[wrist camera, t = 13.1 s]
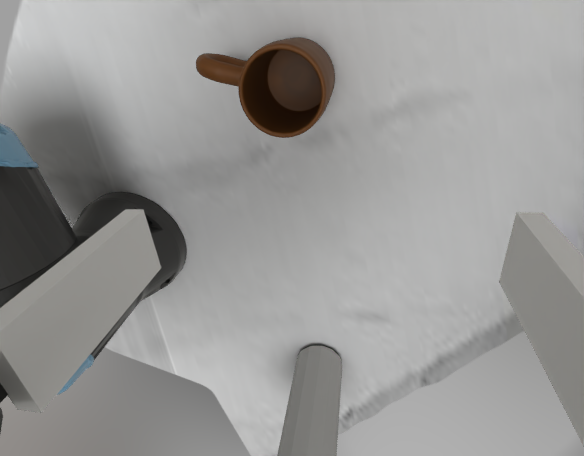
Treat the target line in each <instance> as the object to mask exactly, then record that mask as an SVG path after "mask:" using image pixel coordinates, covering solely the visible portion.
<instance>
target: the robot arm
mask: <svg viewBox="0 0 584 456" xmlns="http://www.w3.org/2000/svg"><path fill="white" fill-rule="evenodd" d="M38 168H39V167H38V164H37V163H36V162H33V160H32V159H31V157H30V155H29V154H28V152H27V151H26V149H25V148H24V146H23V145H22V143H21V142H20V140H19V139H18V137H17V135H16V134H15V133H14V132H13V131H12V130H11V129H10V128H8V127H7V126H5V125H3V124H1V123H0V402H1V401H2V400H3V399H4V398H5V397H6V396H7V395H8V397H9V398H10V399H11V401H12V402H13V404H14V405H15V406H16V408H17V409H18V410H24V411H32V412H40V413H42V412H43V411H44V410H45V408H46V407H47V406H48V405H49V403H50V402H51V401H52V400H53V398H54V397H55V396H56V395H58V394H61V393H62V392H64V391H66V389H68V388H69V387H70V386H71V385H72V384H73V383H74V382H75V381H76V379H77V378H78V377H79V376H80V375H81V374H82V373H83V372H84V371H85V370H86V369H87V368H89V367H90V366H91V365H92V364H93V362H94V360H95V358H96V357H97V356H98V355H99V353H100V352H101V351H102V349H103V348H104V347H105V346H106V344H107V343H108V342H109V340H110V339H111V338H112V337H113V335H114V334H115V333H116V331H117V330H118V329H119V328H120V326H121V325H122V324H123V322H124V321H125V320H126V319H127V317H128V316H129V315H130V313H131V312H132V311H133V310H134V308H135V307H136V306H137V305H138V303H139V302H140V301H142V300H143V299H145V298H147V297H149V296H150V295H152V294H154V293H155V292H157V291H159V290H160V289H162V288H164V287H165V286H167V285H168V284H170V283H171V282H172V281H173V280H174V278H175V277H176V276H177V274H178V273H179V272H180V270H181V269H182V267H183V265H184V263H185V259H186V246H185V241H184V238H183V235H182V233H181V231H180V229H179V228H178V226H177V224H176V223H175V222H174V220H173V219H172V218H171V217H170V216H169V215H168V214H167V213H166V212H165V211H164V210H163V209H162V208H161V207H159V206H158V205H156V204H155V203H153V202H152V201H150V200H148V199H146V198H144V197H141V196H138V195H135V194H131V193H125V192H115V193H109V194H106V195H103V196H101V197H100V198H98V199H97V200H95V201H94V202H92V203H91V204H89V205H88V206H87V207H86V208H85V209H84V210H83V211H82V212H81V214H80V216H79V218H78V220H77V222H76V224H75V225H74V227H73V228H71V227H70V225H69V223H68V221H67V220H66V218H65V216H64V214H63V213H62V211H61V209H60V207H59V206H58V204H57V202H56V200H55V199H54V197H53V195H52V193H51V192H50V190H49V188H48V186H47V185H46V183H45V181H44V179H43V177H42V176H41V174H40V172H39V170H38ZM499 283H500V284H501V286H502V288H503V290H504V292H505V294H506V296H507V298H508V300H509V302H510V304H511V306H512V308H513V310H514V312H515V314H516V316H517V318H518V320H519V321H520V323H521V325H522V327H523V329H524V331H525V333H526V335H527V337H528V339H529V341H530V343H531V345H532V346H533V349H534V351H535V353H536V355H537V356H538V358H539V360H540V362H541V364H542V366H543V368H544V370H545V372H546V374H547V376H548V378H549V380H550V382H551V384H552V386H553V388H554V389H555V392H556V393H557V395H558V397H559V399H560V401H561V403H562V405H563V407H564V409H565V411H566V413H567V415H568V417H569V419H570V421H571V423H572V425H573V427H574V428H575V430H576V432H577V434H578V436H579V438H580V440H581V442H582V444H583V446H584V256H583V255H582V254H581V253H580V252H579V251H578V250H577V249H576V248H575V247H574V246H573V244H572V243H571V242H570V241H569V240H568V239H567V238H566V237H565V236H564V235H563V234H562V233H561V232H560V230H559V229H558V228H557V227H556V226H555V225H554V224H553V223H552V222H551V221H550V220H549V219H548V218H547V216H546V215H545V214H544V213H516V216H515V220H514V224H513V228H512V232H511V236H510V240H509V244H508V248H507V252H506V256H505V260H504V264H503V268H502V272H501V276H500V280H499ZM2 418H3V415H2V410H1V408H0V432H1V425H2Z"/></svg>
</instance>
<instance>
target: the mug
mask: <svg viewBox="0 0 584 456" xmlns="http://www.w3.org/2000/svg"><path fill="white" fill-rule="evenodd" d="M196 68H197V71H198V72H199V73H200V74H201V75H202V76H203V77H206V78H208V79H210V80H213V81H217V82H220V83H225V84H230V85H234V86H238V87H239V98H240V102H241V105H242V108H243V110H244V112H245V114H246V116H247V117H248V119H249V120H250V121H251V122H252V123H253V125H255V126H256V127H257V128H258V129H260V130H261V131H263V132H264V133H266V134H269V135H271V136H275V137H282V138H285V137H294V136H297V135H300V134H302V133H304V132H305V131H307V130H308V129H310V128H311V127H312V126H313V125H314V124H315V123H316V122H317V121H318V120H319V118H320V117H321V116H322V114H323V113H324V111H325V109H326V107H327V104H328V102H329V100H330V97H331V95H332V92H333V88H334V82H335V73H334V68H333V64H332V62H331V59H330V57H329V56H328V54H327V53H326V51H325V50H324V49H323V48H322V47H321V46H320V45H318V44H317V43H315V42H313V41H311V40H308V39H305V38H290V39H284V40H280V41H275V42H272V43H270V44H267V45H265V46H264V47H262V48H261V49H259V50H258V51H256V52H255V53H254V54H253V55H252V56H251V57H250V58H249V59H248V61H244V60H240V59H237V58H233V57H229V56H225V55H219V54H202V55H200V56H199V57H198V58H197V60H196Z"/></svg>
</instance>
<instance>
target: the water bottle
mask: <svg viewBox="0 0 584 456" xmlns="http://www.w3.org/2000/svg"><path fill="white" fill-rule="evenodd" d="M341 377H342V363H341V358H340V357H339V356H338V355H337V354H336V353H335V352H334V351H333V350H332V349H330V348H327V347H325V346H310V347H307V348H305V349H303V350H301V351H300V353H299V355H298V357H297V361H296V366H295V371H294V376H293V381H292V386H291V391H290V396H289V401H288V406H287V411H286V416H285V420H284V425H283V430H282V435H281V440H280V445H279V450H278V455H277V456H336V452H337V437H338V422H339V407H340V392H341Z"/></svg>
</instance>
